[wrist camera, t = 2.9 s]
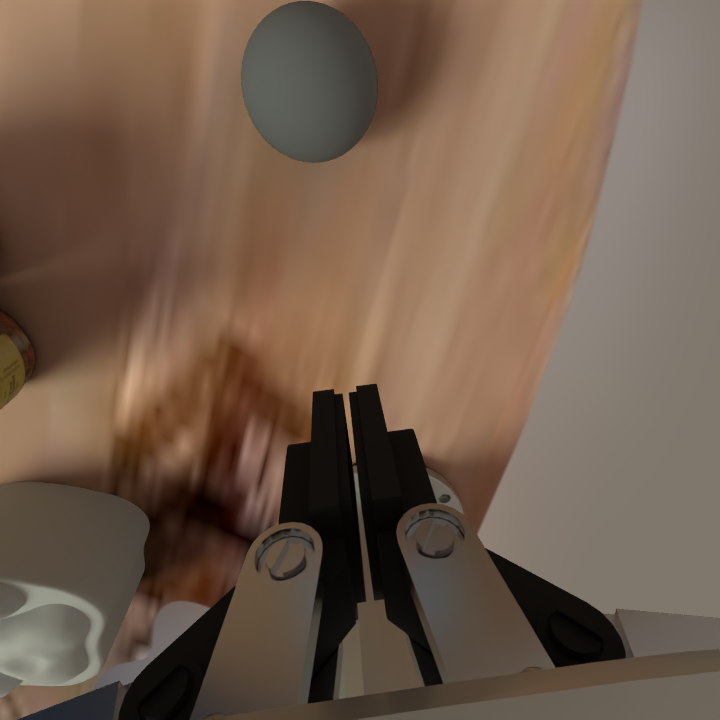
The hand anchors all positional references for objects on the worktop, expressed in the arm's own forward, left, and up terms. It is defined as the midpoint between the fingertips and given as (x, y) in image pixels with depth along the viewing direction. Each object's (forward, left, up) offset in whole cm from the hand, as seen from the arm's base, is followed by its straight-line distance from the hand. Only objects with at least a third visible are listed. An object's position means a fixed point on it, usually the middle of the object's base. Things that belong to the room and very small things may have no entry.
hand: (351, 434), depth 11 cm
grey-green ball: (+9, 0, -12) cm, 15 cm away
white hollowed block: (-16, +23, -15) cm, 32 cm away
